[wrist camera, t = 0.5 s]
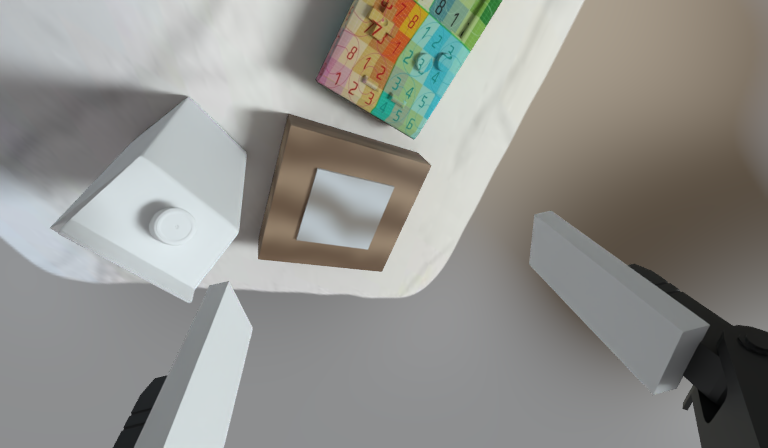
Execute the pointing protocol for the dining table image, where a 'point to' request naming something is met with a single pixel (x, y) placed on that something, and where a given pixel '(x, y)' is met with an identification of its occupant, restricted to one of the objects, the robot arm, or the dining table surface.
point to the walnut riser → (337, 197)
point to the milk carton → (165, 202)
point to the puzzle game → (403, 55)
